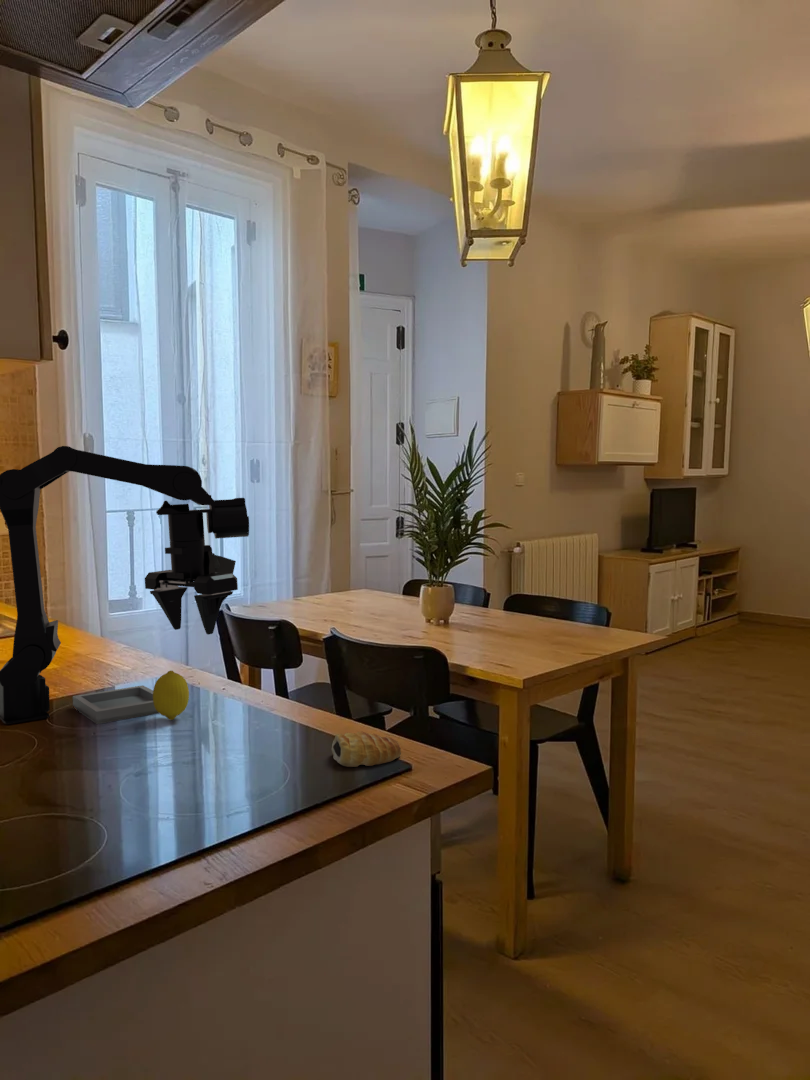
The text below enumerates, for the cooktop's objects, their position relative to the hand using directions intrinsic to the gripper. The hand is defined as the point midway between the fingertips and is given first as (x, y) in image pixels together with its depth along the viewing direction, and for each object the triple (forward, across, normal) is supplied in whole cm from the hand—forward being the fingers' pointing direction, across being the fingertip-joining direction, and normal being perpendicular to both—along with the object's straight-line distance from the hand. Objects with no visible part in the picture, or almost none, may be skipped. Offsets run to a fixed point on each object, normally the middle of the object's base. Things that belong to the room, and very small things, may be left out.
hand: (193, 631), depth 133 cm
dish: (+12, +7, +10) cm, 17 cm away
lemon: (+13, -5, +8) cm, 16 cm away
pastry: (+14, -40, +2) cm, 42 cm away
